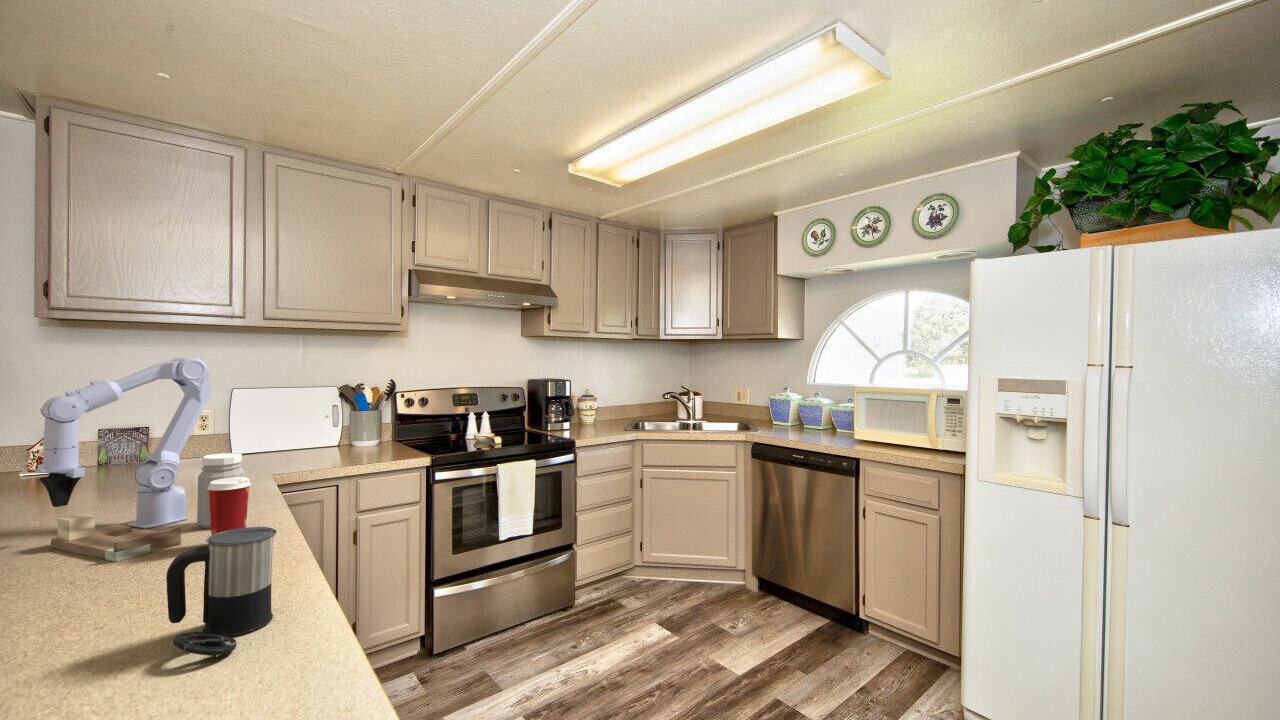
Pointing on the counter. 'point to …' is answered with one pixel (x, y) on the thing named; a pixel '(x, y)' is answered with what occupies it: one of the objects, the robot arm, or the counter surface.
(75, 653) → the counter surface
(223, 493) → the coffee cup
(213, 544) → the milk frother
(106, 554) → the deck
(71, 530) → the block
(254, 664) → the counter surface
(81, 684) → the counter surface
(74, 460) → the robot arm
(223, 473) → the jar
